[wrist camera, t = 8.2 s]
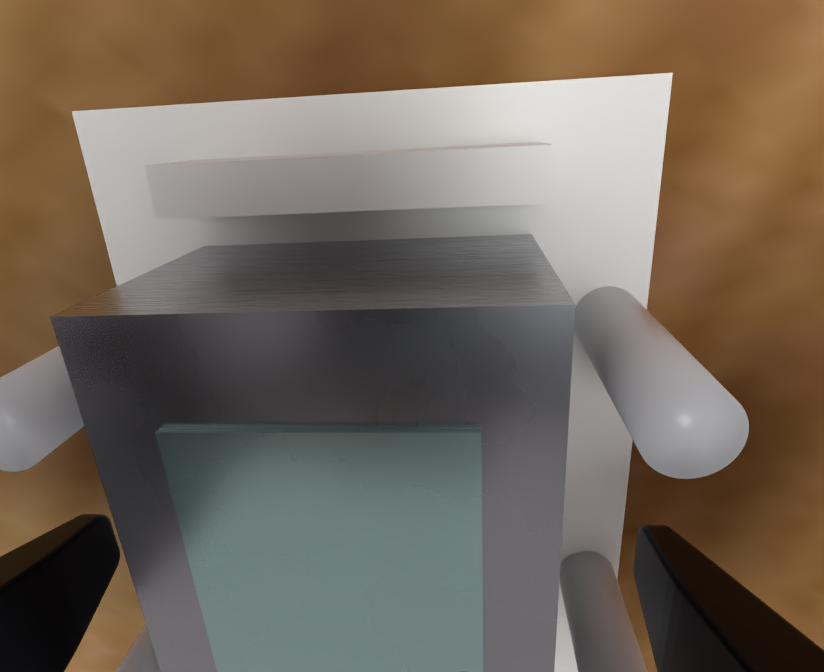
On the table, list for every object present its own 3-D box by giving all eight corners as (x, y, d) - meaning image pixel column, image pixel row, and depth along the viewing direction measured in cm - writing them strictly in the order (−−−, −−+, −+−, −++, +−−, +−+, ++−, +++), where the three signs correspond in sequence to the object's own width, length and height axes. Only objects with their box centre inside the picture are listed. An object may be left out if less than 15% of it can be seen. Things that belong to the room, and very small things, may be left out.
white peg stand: (233, 644, 15) (131, 870, 11) (106, 112, 10) (-188, 101, 6) (595, 661, 14) (658, 919, 10) (651, 78, 9) (840, 29, 5)
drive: (274, 608, 13) (197, 803, 9) (203, 246, 10) (43, 319, 6) (521, 617, 13) (546, 830, 9) (531, 234, 9) (577, 308, 6)
